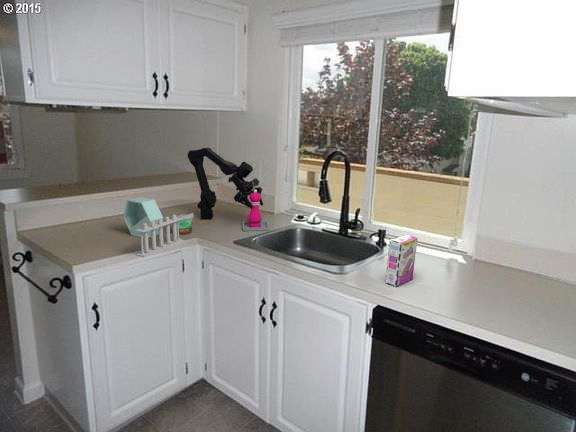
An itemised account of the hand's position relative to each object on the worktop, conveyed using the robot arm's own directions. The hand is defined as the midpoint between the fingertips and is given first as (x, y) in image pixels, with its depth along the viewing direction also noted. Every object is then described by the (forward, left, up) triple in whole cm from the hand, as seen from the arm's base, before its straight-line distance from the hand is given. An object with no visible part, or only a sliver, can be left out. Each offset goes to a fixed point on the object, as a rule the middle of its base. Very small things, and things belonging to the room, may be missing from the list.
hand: (257, 206), depth 204 cm
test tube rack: (-43, -31, -12) cm, 54 cm away
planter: (-55, -11, -12) cm, 58 cm away
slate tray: (-1, +1, -12) cm, 12 cm away
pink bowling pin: (-1, +1, -11) cm, 11 cm away
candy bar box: (+49, -73, -12) cm, 88 cm away
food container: (-36, -9, -12) cm, 39 cm away
